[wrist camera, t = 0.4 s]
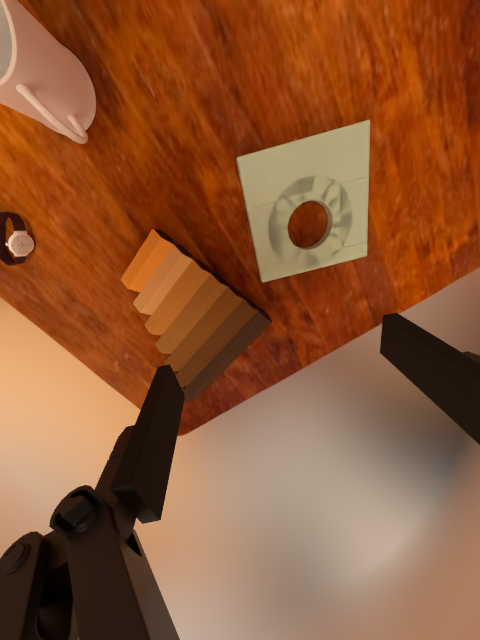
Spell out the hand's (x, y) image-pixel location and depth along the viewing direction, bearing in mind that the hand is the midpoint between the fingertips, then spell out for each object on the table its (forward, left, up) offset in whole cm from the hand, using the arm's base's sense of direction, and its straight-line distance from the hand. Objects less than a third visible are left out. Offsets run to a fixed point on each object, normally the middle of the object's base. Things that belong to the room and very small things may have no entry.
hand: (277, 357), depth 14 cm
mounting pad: (-5, +11, -27) cm, 30 cm away
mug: (-24, -17, -28) cm, 40 cm away
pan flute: (+9, -15, -28) cm, 32 cm away
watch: (-12, -33, -28) cm, 44 cm away
